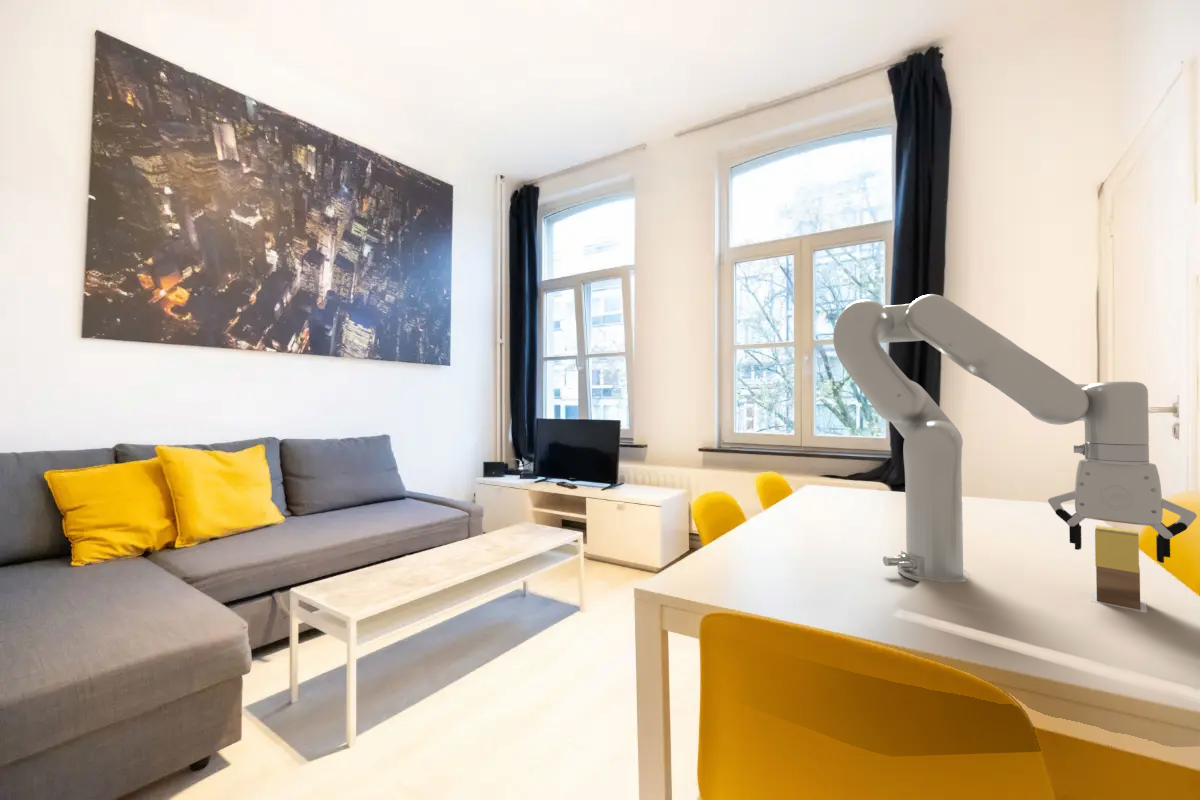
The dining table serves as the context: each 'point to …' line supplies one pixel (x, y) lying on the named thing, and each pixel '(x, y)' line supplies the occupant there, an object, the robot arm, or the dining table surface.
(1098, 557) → the mustard block
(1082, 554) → the dining table surface
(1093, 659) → the dining table surface
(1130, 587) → the walnut block
